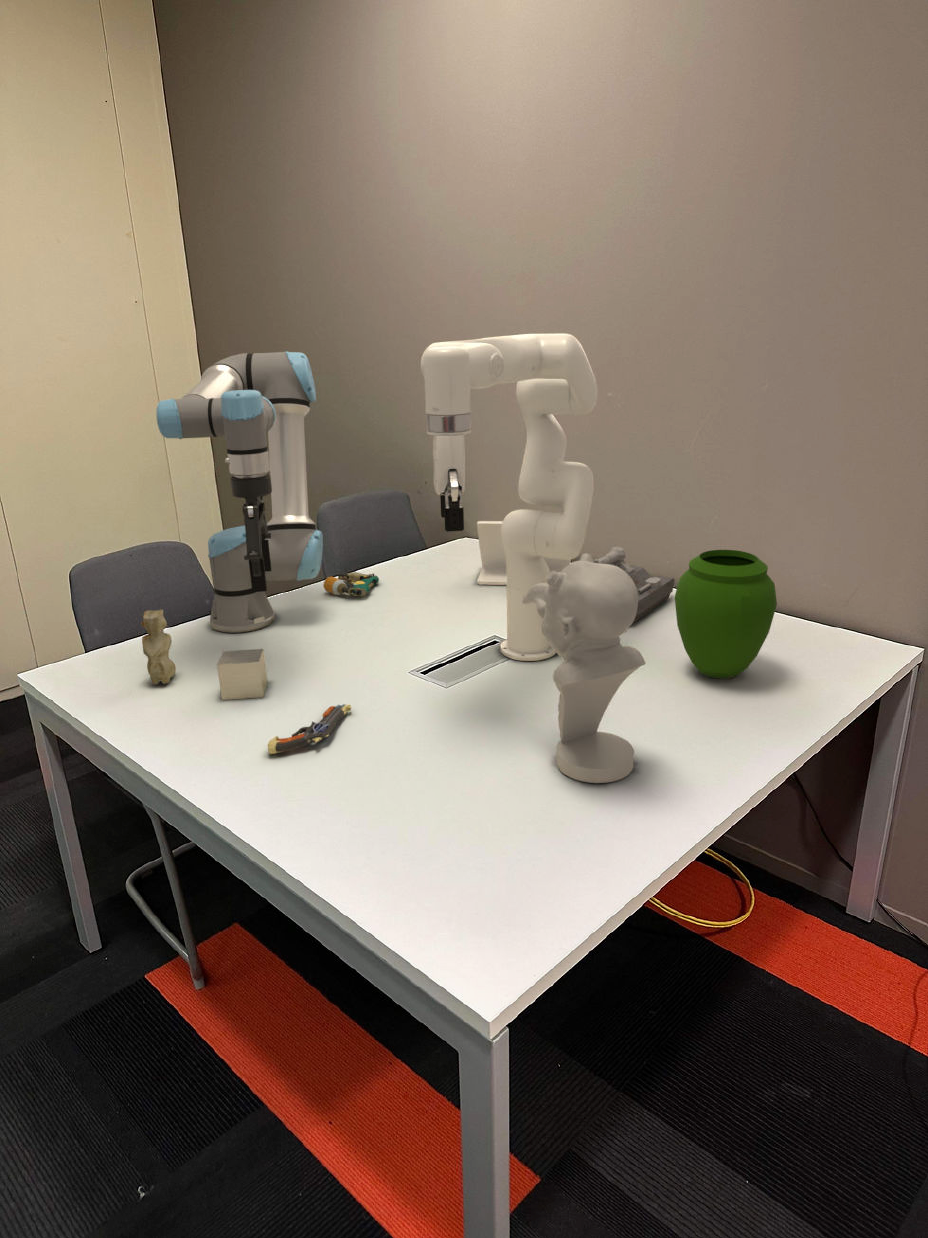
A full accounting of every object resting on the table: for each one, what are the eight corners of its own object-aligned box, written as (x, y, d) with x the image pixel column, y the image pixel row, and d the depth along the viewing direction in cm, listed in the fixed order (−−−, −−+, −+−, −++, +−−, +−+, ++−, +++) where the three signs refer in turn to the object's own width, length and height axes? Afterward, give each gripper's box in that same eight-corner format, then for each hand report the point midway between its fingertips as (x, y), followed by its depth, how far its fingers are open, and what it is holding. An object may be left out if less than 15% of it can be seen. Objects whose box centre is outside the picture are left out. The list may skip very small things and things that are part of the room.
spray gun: (347, 579, 242) (393, 587, 236) (313, 594, 227) (362, 602, 221) (347, 565, 240) (393, 572, 235) (313, 578, 226) (361, 587, 220)
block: (227, 685, 176) (222, 651, 173) (267, 683, 176) (263, 648, 174) (221, 700, 169) (216, 664, 167) (263, 697, 170) (259, 661, 167)
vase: (779, 663, 178) (792, 551, 169) (754, 700, 162) (766, 578, 154) (688, 646, 188) (695, 539, 179) (656, 679, 172) (662, 563, 164)
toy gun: (262, 744, 147) (317, 741, 144) (302, 702, 164) (351, 699, 162) (265, 758, 147) (319, 756, 145) (305, 715, 165) (354, 712, 163)
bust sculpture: (574, 712, 160) (578, 530, 147) (660, 769, 140) (672, 565, 127) (501, 733, 153) (498, 544, 140) (579, 797, 133) (584, 583, 120)
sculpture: (181, 672, 182) (171, 606, 177) (172, 686, 176) (161, 618, 170) (154, 673, 182) (142, 607, 177) (144, 687, 175) (131, 619, 170)
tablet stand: (569, 585, 229) (570, 524, 223) (476, 584, 232) (475, 523, 226) (570, 566, 246) (571, 508, 240) (484, 564, 249) (483, 507, 243)
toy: (603, 584, 229) (605, 530, 224) (673, 597, 218) (677, 540, 213) (555, 612, 210) (556, 553, 205) (630, 627, 199) (633, 566, 194)
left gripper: (236, 464, 174) (248, 564, 181) (222, 488, 150) (236, 601, 158) (274, 462, 175) (284, 562, 182) (265, 485, 151) (277, 598, 159)
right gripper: (423, 418, 151) (428, 513, 157) (429, 432, 134) (433, 537, 140) (466, 416, 151) (468, 511, 157) (476, 430, 135) (479, 535, 141)
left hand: (262, 580), depth 170 cm, fingers open, 13 cm apart
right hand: (452, 523), depth 149 cm, fingers open, 9 cm apart
